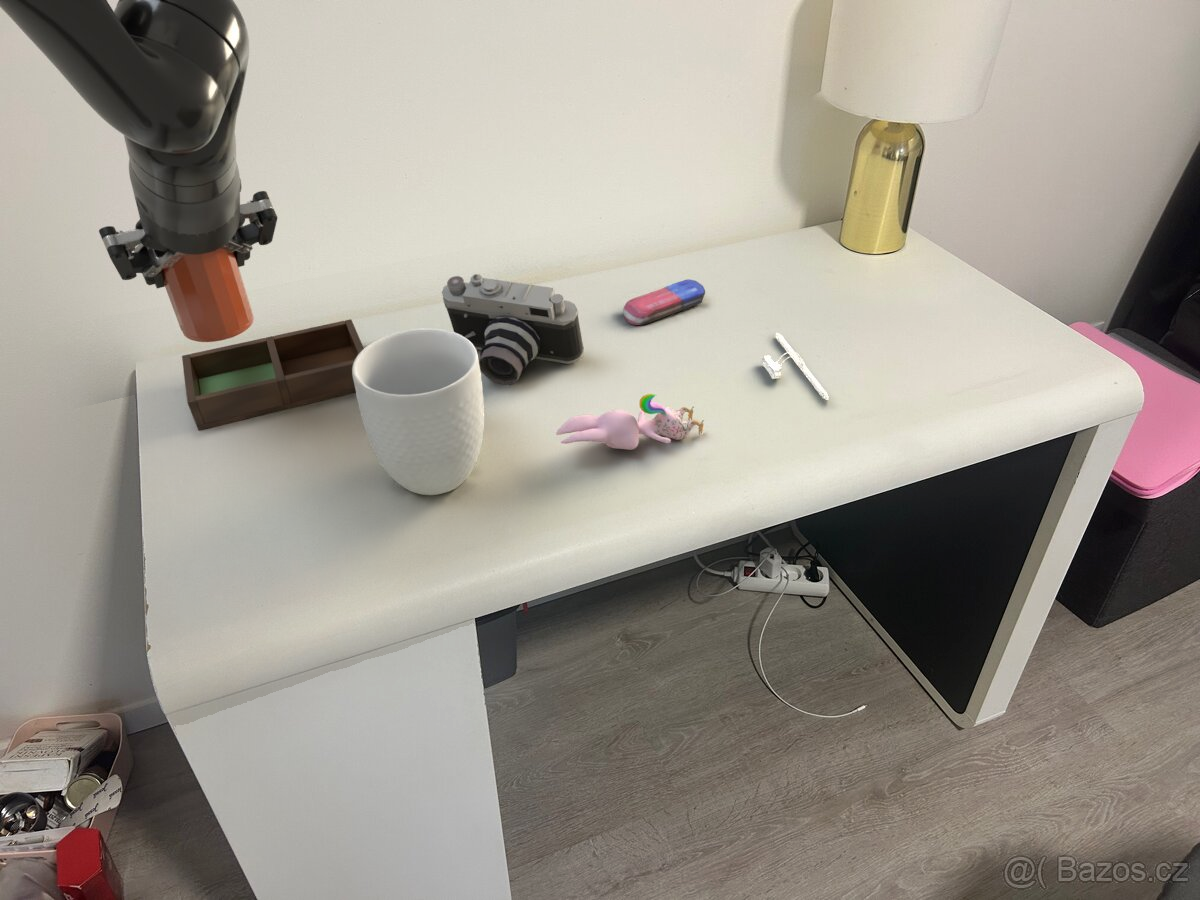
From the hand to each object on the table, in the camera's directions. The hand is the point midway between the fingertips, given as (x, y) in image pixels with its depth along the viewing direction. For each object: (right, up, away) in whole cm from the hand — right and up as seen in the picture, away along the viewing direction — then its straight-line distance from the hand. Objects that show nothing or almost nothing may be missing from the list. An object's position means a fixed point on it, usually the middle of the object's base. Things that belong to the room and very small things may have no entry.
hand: (197, 267), depth 80 cm
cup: (+1, -5, +2) cm, 6 cm away
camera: (+28, -8, +16) cm, 33 cm away
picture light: (+59, -8, +15) cm, 62 cm away
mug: (+23, -19, +2) cm, 30 cm away
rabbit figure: (+41, -17, +5) cm, 45 cm away
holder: (+3, -10, +13) cm, 17 cm away
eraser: (+46, 0, +26) cm, 53 cm away
